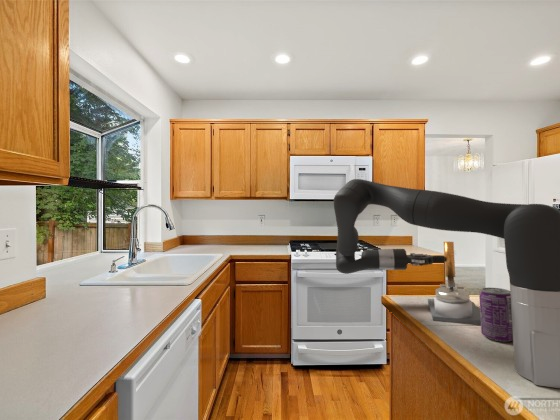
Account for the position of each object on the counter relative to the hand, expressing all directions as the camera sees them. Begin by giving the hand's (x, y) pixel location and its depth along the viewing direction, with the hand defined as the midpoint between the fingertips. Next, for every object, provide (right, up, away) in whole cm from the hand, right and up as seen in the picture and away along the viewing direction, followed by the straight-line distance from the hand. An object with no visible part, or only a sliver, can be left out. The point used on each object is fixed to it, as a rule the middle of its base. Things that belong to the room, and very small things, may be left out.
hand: (443, 259), depth 102 cm
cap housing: (-1, -16, -8) cm, 18 cm away
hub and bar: (-2, -10, -8) cm, 13 cm away
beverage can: (-2, -15, -28) cm, 32 cm away
